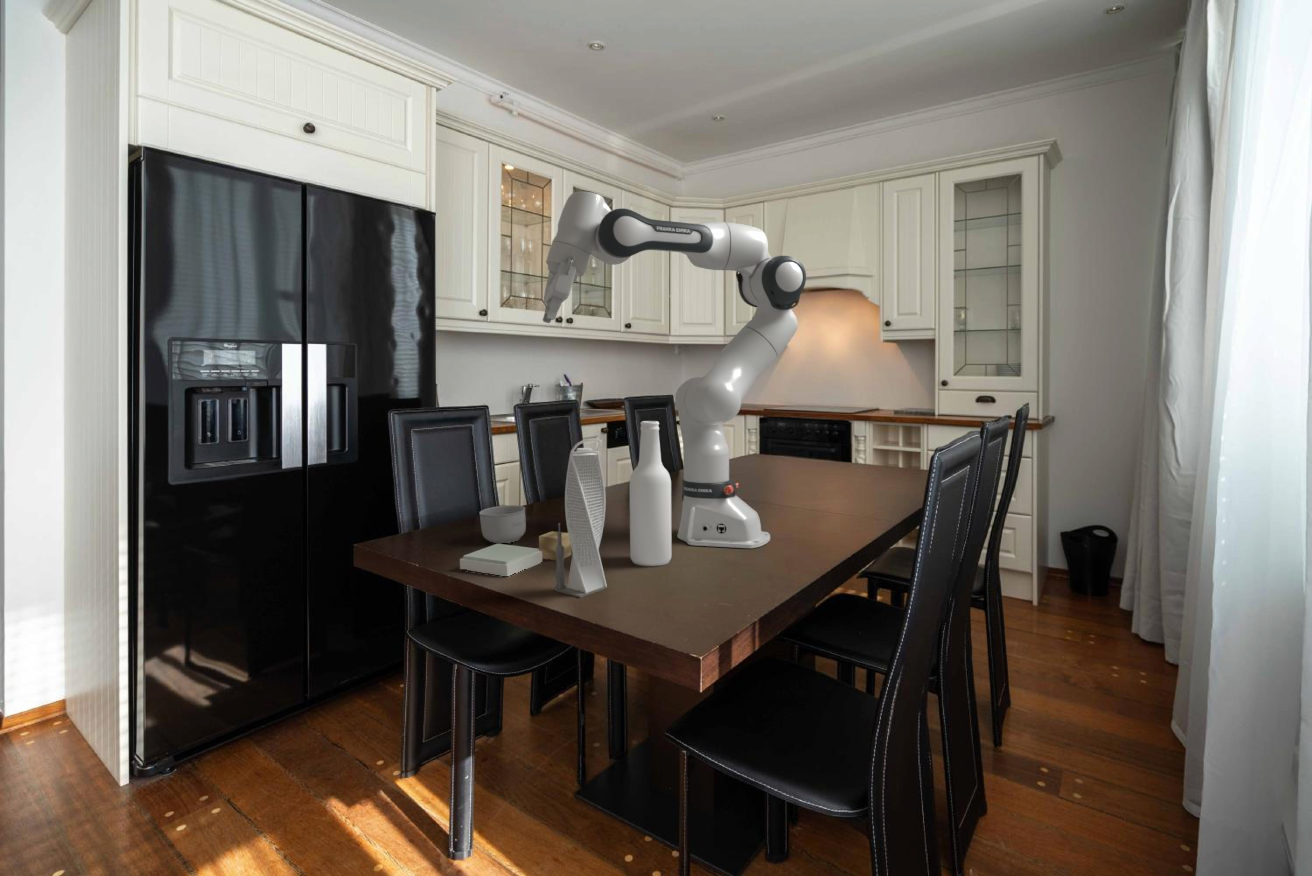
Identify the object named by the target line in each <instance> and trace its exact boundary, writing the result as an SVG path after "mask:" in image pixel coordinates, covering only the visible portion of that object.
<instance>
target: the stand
mask: <svg viewBox="0 0 1312 876" xmlns="http://www.w3.org/2000/svg"><path fill="white" fill-rule="evenodd" d="M541 562H542V563H543V559H542V551H539V548H535V547H528V546H527V547H526V546H519V545H510V544H492V545H490V546H487V547H484V548H481V549H478V550H475V551H472V552H470V553H468V554H464V555H463V556H462V558H459V570H460V569H467V570H471V571H477V572H482V573H490V574H495V575H500V576H499V577H502V576H509V577H511V576H510V575H512V574H514V573H516V574H518V572H519V573H521V572H523V571H525V570H524V569H526V570H528V569H530V568H532V567H534V566H537V565H539V564H542V563H541ZM522 570H523V571H522ZM520 571H521V572H520ZM495 575H494V576H495ZM514 575H515V574H514ZM512 576H513V575H512Z"/></svg>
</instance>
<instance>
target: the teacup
mask: <svg viewBox="0 0 1312 876" xmlns="http://www.w3.org/2000/svg"><path fill="white" fill-rule="evenodd" d="M479 520H480V528H481V533H482V536H483V538H484V539H485V540H487V541H489V542H490V543H491V542H493V543H508V544H512V543H511V542H513V543H516V542H518V541H519V540H520V539H521V537H523V535H525V533H526V529H527V528H526V527H527V525H526V523H527V522H526V521H527V519H526V507H525V506H523V505H516V504H512V505H511V504H509V505H507V504H503V505H498V506H492V507H487V508H484V509H482V510H480V511H479ZM515 541H516V542H515ZM493 543H492V544H493Z"/></svg>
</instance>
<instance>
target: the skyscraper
mask: <svg viewBox="0 0 1312 876" xmlns="http://www.w3.org/2000/svg"><path fill="white" fill-rule="evenodd" d="M589 442H598V446H597V448H596V450H593V448H592V447H591V448H590V447H579V448H578V446H580V445H582V444H585V443H589ZM602 443H603V440H602V439H600V438H587V439H583V440H580V441H579V442H577V443H575V445H574V446H573V447H572V448H571V450H570V452H569V456H568V457H569V458H568V463H567V464H568V465H567V471H566V478H565V479H566V480H565V490H564V511H565V521H566V528H567V533H568V535H569V540H570V544H571V553H572V554H571V563H570V569H569V573H568V579H567V583H566V582H565V579H566V569H565V564H564V563H565V562H564V561H565V560H564V559H565V558H564V546H562V533H563V532H562V531H561V523H560V522H559V523H558V526H557V527H558V531H556V532H557V536H558V546H556V559H557V560H556V566H555V567H556V568H555V580H556V585H555V587H554V588H553V591H554V590H555V592H558V593H563V594H566V595H569V596H572V597H575V598H579V599H581V598H584V597H586V596H590V595H592V594H595V593H598V592H601V591H603V590H606V589H607V588H608V586H607V581H606V576H605V572H604V568H603V564H602V559H601V555H600V550H599V549H600V545H601V541H602V537H603V530H604V526H605V518H606V508H607V507H606V506H607V504H606V503H607V501H606V497H607V495H606V494H607V493H606V485H605V479H604V478H605V477H604V472H603V467H602V462H601V461H602V460H601V457H600V449H601V446H602Z"/></svg>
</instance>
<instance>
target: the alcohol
mask: <svg viewBox="0 0 1312 876" xmlns="http://www.w3.org/2000/svg"><path fill="white" fill-rule="evenodd" d="M639 424H640V429H639V430H640V443H639V457H638V463H637V465H636V467H635V468H634V470H633V471H632V472H631V474H630V478H629V534H630V535H629V540H630V541H629V542H630V545H629V547H630V548H629V550H630V553H629V554H630V556H629V557H630V560H631V562H632V563H633V564H635V565H636V566H642V567H660V566H665V565H667V564H669V563H670V561H671V559H672V556H673V555H672V480H671V476H670V472H669V471H668V469H666V468H665V467H664V465H663V462H662V461H663V460H662V453H661V443H660V432H659V431H660V427H659V425H660V422H659V421H657V420H643V421H641V422H640V423H639Z"/></svg>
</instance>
